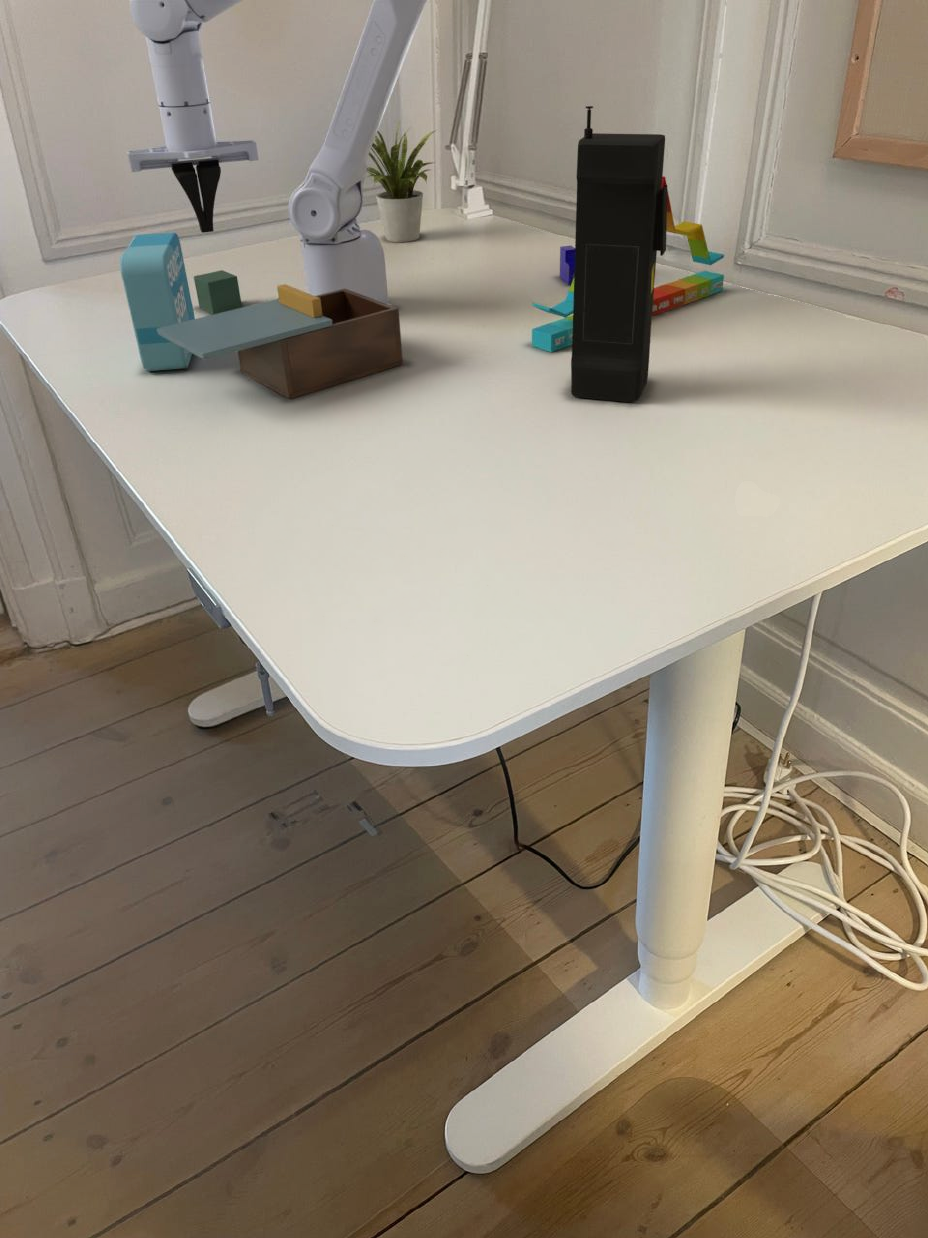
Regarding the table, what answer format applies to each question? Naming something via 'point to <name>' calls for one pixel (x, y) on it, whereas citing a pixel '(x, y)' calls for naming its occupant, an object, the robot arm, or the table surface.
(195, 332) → the sliding box lid
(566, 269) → the cable holder
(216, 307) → the block
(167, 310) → the data package
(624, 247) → the portable radio
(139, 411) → the table surface
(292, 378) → the case
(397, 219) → the house plant
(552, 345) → the chart
